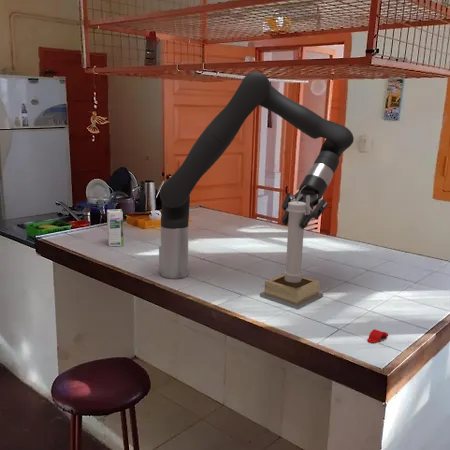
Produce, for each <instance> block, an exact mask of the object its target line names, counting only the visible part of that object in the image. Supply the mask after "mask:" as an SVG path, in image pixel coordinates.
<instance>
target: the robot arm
mask: <svg viewBox="0 0 450 450" xmlns="http://www.w3.org/2000/svg"><path fill="white" fill-rule="evenodd" d="M258 106H260V107H262V108H265V110H268V111H270V112H272V113H273V114H275V115H277V116H278V117H280V118H282V119H283V120H285V121H286V122H287V123H288V124H290V125H292V126H293V127H295V128H296V129H297V130H299V131H301V133H303V134H305V135H307V136H308V137H310V138H311V139H315V140H316V139H319V138H323V139H324V141H323V143H322V146H321V148H320V151H319V153H318V155H317V157H316V158H315V159H314V162H313V164H312V165H311V167H310V168H309V169H308V172H307V173H306V175H305V176H304V179H303V180H302V182H301V184H300V185H299V187H298V188H299V189H298V191H297V192H296V193H295V194H291V193H290V192H287V193H286V195H285V198H284V201H283V204H282V206H281V208H282V210H283V212H284V214H283V216H282V218H281V223H282V224H283V226H288V220H289V212H288V203H289V202H293V201H297V199H298V201H299V202H304V203H306V212H305V215H304V217H303V218H302V220H301V222H300V224H299V226H300V228H301V229H304V230H305V228H307V227H308V225H309V223H310V221H311V220H312V219H316V220H318V219H319V218H320V217H321V215H322V214H323V212H324V211H325V210H326V208H327V207H328V203H327V200H326V199H325V198H323V197H324V195H325V193H326V191H327V190H328V187H329V185H330V183H331V181H332V179H333V177H334V174H335V173H336V171H337V169H338V166H339V164H340V157H341V156H342V154H343V153H344V152H345V151H346V150H347V149H348V148H350V147H352V144H353V143H354V135H353V132H352V131H351V130H350V129H349V128H348V127H346V126H344V125H342V124H340V123H337V122H334V121H332V120H329V119H325V118H323V117H322V116H321V115H319V114H318V113H316V112H314V111H313V110H311V109H309V108H308V107H306V106H304V105H303V104H300V103H298V102H297V101H295V100H293V99H290V98H288V97H287V96H285V95H284V94H282V93H281V92H280V91H279V90H277V89H276V88H275V87H274V86H273V85H272V84H271V82H270V79H269V78H268V76H267V75H266V74H264V73H263V72H261V71H253V72H250V73H248V74H247V75H245V76H244V77H243V79H242V80H241V82H240V84H239V85H238V88H237V89H236V91H235V93H234V94H233V95H232V97H231V99H230V100H229V101H228V103H227V104H226V105H225V106H224V108H223V109H222V110H221V111H220V112H219V113H218V114H217V115H216V116H215V117H214V118H213V119H212V120H211V121H210V123H209V124H208V125H207V126H206V127H205V129H204V130H203V131H202V133H200V135H199V136H198V137H197V140H196V141H195V142H194V143H193V145H192V147H191V149H190V150H189V152H188V154H187V156H186V157H185V159H184V160H183V162H182V164H181V165H180V166H179V167H178V168H177V170H176V171H175V172H174V173H173V174H172V175H171V176H170V178H168V179H166V180H165V181H164V182H163V184H161V187H160V190H159V197H160V198H159V199H160V201H161V215H160V246H159V247H158V274H160V275H161V277H162V278H166V279H172V280H174V279H176V280H177V279H183V278H186V277H187V276H188V275H189V219H190V195H191V193H192V191H193V189H195V186H196V185H197V184H198V182H199V181H200V180H201V179H202V177H203V175H205V174H206V173H207V172H208V171H209V170H210V169H211V168H212V167H213V166H214V165H215V163H216V162H217V161H218V160H219V159H220V158H221V156H222V155H223V154H224V153H225V152H226V150H227V149H228V147H230V145H231V144H232V142H233V141H234V139H235V137H236V136H237V134H238V133H239V130H241V127H242V126H243V124H244V123H245V121H246V120H247V118H248V117H249V116H250V115H251V114H252V112H253V111H255V110H256V108H258ZM305 185H306V186H305ZM304 186H305V187H304ZM303 187H304V188H303ZM302 188H303V189H302ZM301 189H302V190H301ZM300 190H301V192H300ZM299 192H300V194H299ZM298 195H299V198H298ZM315 206H316V207H315Z"/></svg>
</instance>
